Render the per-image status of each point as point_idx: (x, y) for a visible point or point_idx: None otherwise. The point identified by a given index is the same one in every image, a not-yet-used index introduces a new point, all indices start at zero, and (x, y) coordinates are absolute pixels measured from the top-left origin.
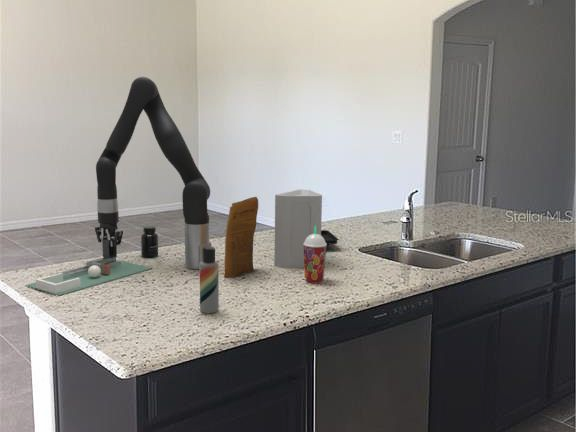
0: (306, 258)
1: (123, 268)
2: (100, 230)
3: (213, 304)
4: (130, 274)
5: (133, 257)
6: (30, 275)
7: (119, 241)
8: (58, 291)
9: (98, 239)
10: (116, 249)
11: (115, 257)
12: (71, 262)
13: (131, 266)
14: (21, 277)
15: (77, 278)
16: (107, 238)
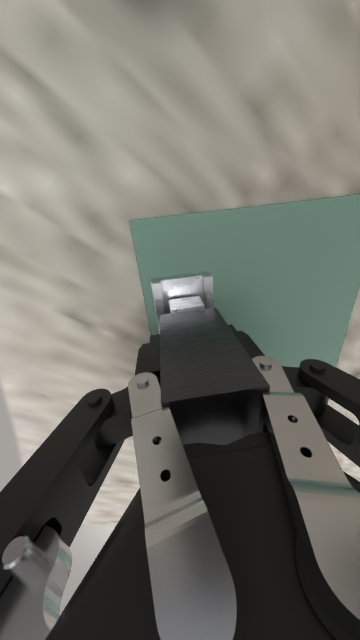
0: None
1: (268, 300)
2: (67, 577)
3: None
4: (346, 325)
5: (87, 64)
6: (104, 494)
7: (342, 387)
8: None
9: (98, 453)
10: (257, 347)
11: (203, 307)
12: (9, 386)
13: (274, 253)
14: (109, 506)
15: None
16: (184, 433)
